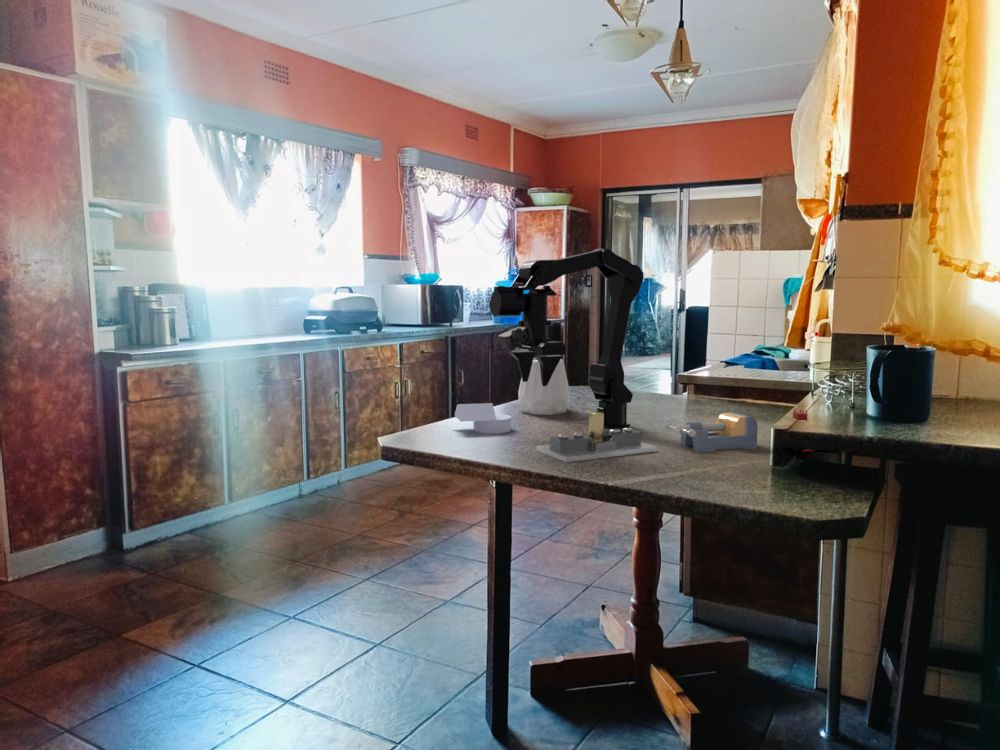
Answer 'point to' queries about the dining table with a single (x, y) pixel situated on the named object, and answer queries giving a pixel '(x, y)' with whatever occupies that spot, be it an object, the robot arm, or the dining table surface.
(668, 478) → the dining table surface
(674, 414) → the dining table surface
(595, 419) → the pin
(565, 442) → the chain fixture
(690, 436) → the vise
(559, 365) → the vase
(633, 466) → the dining table surface
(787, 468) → the dining table surface
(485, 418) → the wedge on round base
